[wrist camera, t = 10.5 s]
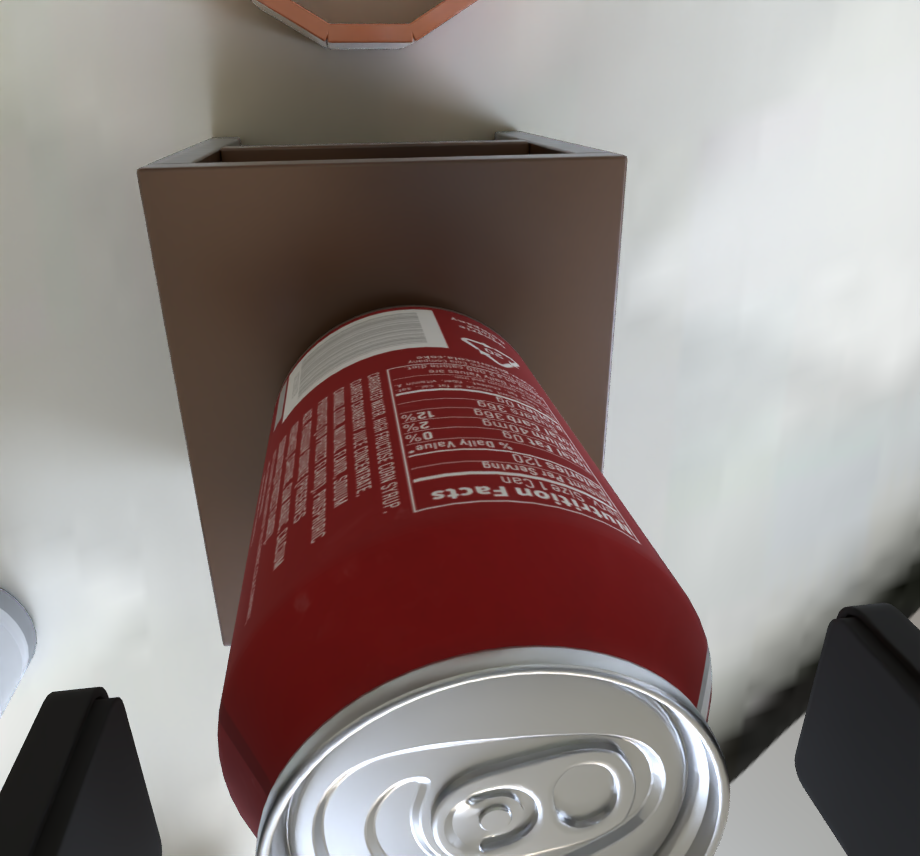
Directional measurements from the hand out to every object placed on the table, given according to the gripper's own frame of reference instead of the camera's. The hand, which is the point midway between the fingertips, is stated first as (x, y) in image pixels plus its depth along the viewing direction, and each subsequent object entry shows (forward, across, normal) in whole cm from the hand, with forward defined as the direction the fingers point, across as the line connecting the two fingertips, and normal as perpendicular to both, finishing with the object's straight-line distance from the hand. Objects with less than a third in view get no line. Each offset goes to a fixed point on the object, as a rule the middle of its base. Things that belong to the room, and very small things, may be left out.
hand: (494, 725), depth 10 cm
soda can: (+11, 0, 0) cm, 11 cm away
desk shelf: (+21, 0, +1) cm, 21 cm away
